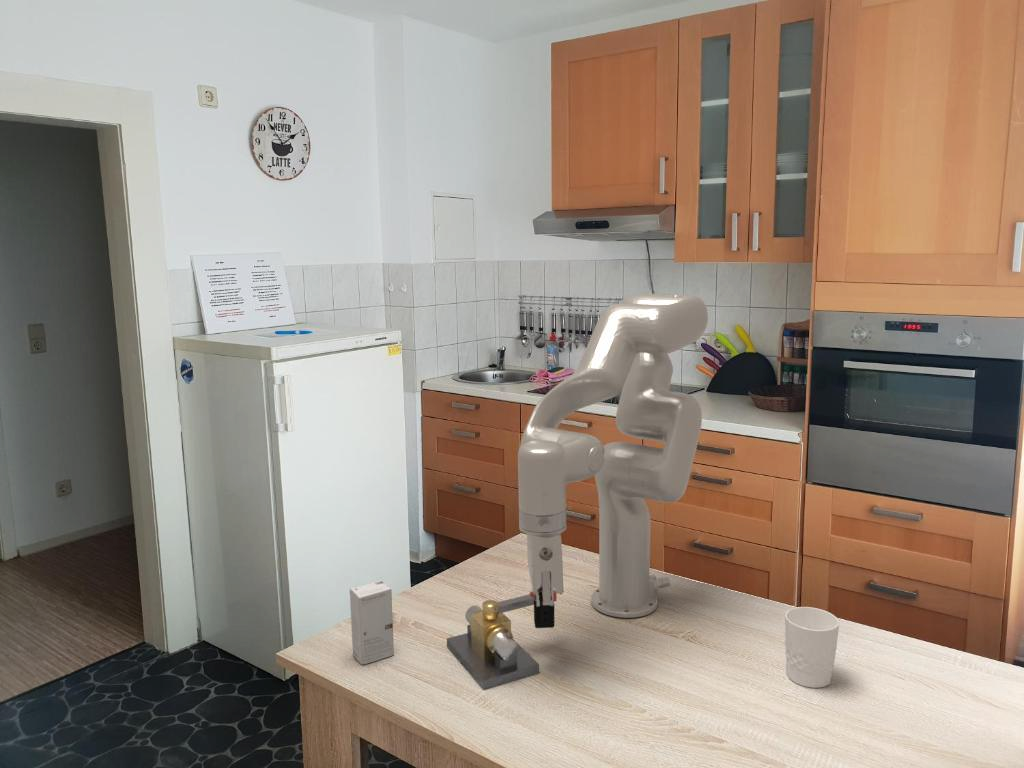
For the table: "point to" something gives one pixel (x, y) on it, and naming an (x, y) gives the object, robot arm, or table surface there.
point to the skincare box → (371, 622)
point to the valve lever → (508, 605)
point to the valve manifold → (491, 650)
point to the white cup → (810, 646)
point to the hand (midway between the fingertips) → (544, 625)
